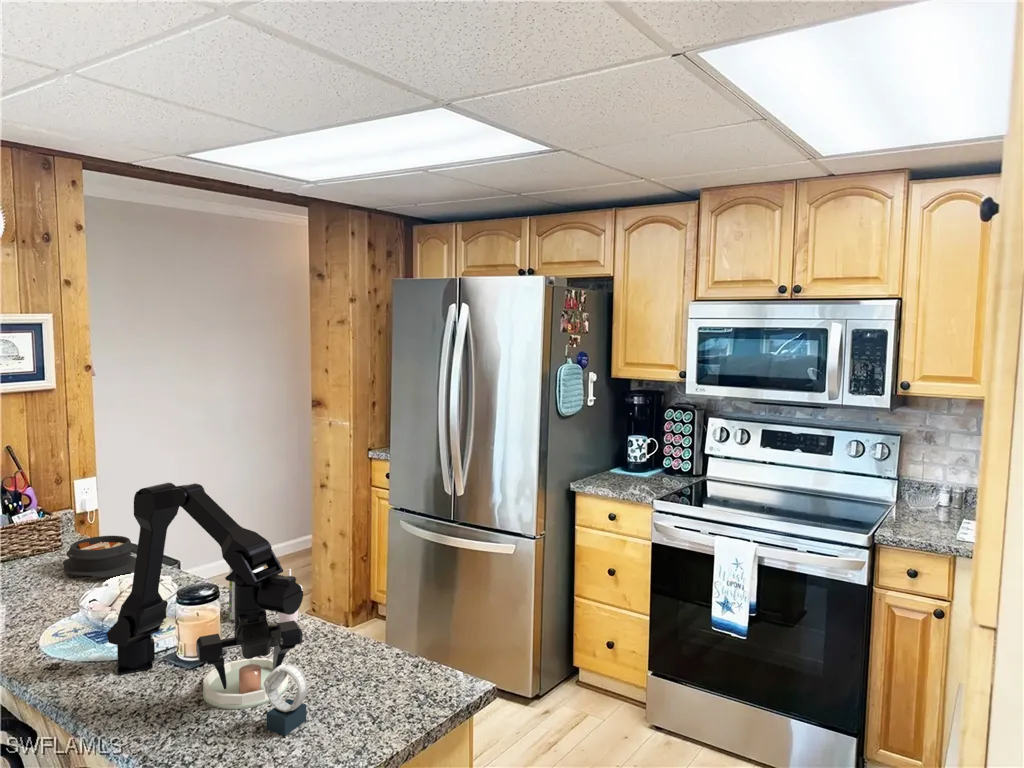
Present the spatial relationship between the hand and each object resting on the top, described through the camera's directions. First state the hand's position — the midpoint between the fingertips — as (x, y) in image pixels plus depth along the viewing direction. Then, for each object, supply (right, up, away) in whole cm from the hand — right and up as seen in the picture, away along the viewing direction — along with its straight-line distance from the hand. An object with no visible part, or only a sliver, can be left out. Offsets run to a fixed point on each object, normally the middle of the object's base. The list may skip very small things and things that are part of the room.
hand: (250, 682), depth 138 cm
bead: (0, -2, 0) cm, 2 cm away
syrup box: (-15, 0, +38) cm, 41 cm away
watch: (+10, -4, -9) cm, 14 cm away
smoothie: (-3, -1, +33) cm, 33 cm away
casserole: (-68, +4, +68) cm, 96 cm away
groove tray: (-2, -3, +4) cm, 5 cm away
